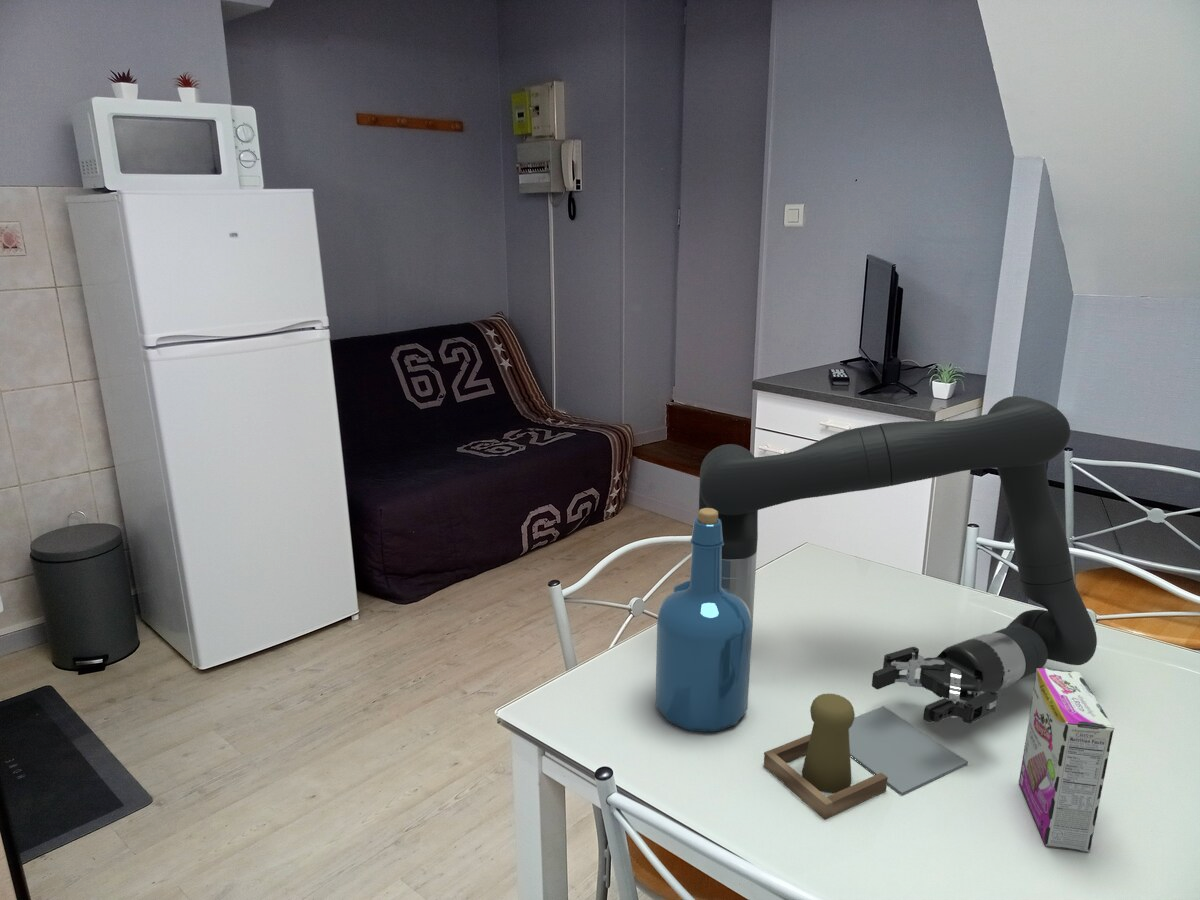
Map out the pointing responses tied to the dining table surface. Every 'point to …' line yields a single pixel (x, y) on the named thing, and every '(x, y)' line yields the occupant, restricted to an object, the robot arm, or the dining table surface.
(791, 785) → the wooden u-shaped frame
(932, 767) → the slate mat
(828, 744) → the cork
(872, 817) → the dining table surface
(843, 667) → the dining table surface
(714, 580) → the wine bottle
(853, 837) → the dining table surface
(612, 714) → the dining table surface
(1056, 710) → the candy bar box
